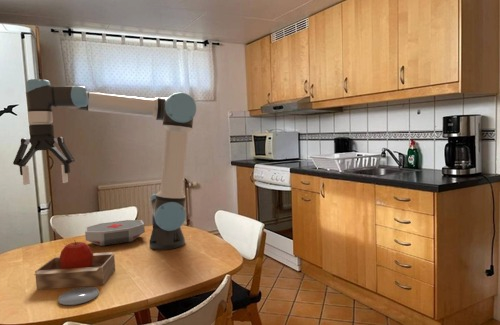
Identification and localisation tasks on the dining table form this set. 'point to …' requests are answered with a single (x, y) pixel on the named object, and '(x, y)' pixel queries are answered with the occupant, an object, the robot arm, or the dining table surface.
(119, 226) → the first aid kit
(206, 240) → the dining table surface
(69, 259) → the apple
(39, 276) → the brown shallow open box
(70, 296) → the plate
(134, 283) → the dining table surface
